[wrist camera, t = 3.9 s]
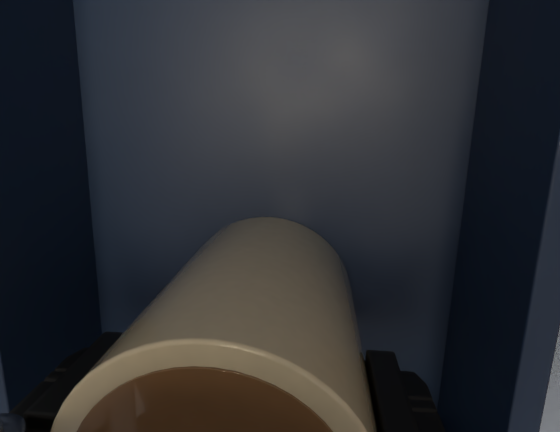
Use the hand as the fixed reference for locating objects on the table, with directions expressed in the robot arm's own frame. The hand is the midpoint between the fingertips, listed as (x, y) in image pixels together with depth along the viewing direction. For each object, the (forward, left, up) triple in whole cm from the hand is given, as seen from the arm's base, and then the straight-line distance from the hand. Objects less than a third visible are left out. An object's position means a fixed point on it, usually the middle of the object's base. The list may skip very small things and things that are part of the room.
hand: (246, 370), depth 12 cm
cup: (0, 0, -5) cm, 5 cm away
